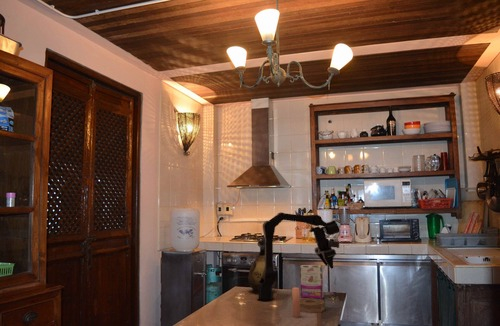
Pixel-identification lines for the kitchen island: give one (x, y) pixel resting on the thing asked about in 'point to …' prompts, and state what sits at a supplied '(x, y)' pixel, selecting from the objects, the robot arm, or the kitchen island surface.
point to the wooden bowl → (311, 305)
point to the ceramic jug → (258, 268)
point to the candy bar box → (311, 281)
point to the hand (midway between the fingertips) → (329, 267)
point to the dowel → (296, 302)
